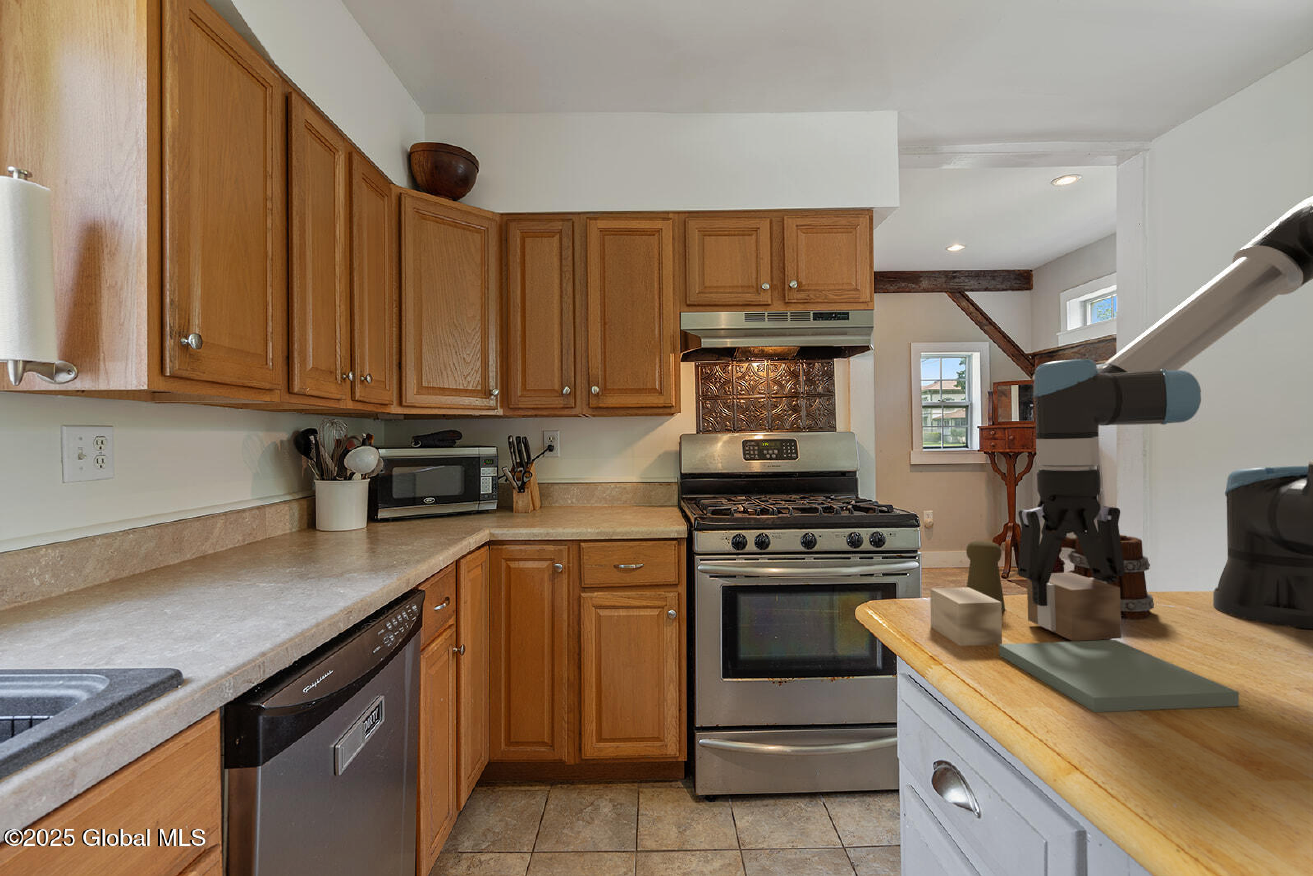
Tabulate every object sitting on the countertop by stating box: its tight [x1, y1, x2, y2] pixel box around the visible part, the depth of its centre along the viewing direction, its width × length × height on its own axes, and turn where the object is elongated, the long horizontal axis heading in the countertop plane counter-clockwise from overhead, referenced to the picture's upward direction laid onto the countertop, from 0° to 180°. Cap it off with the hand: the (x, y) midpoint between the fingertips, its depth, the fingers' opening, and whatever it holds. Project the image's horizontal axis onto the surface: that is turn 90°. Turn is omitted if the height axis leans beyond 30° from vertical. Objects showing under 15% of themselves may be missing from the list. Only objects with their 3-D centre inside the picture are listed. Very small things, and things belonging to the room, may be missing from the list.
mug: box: [1052, 530, 1155, 620], centre depth 99 cm, size 12×14×15 cm
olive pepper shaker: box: [965, 540, 1006, 612], centre depth 100 cm, size 6×6×11 cm
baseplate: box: [998, 639, 1240, 713], centre depth 71 cm, size 16×16×2 cm
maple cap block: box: [929, 586, 1003, 647], centre depth 86 cm, size 6×8×6 cm
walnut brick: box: [1026, 571, 1122, 642], centre depth 86 cm, size 7×9×7 cm
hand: (1072, 625), depth 86 cm, fingers closed on walnut brick, 7 cm apart
